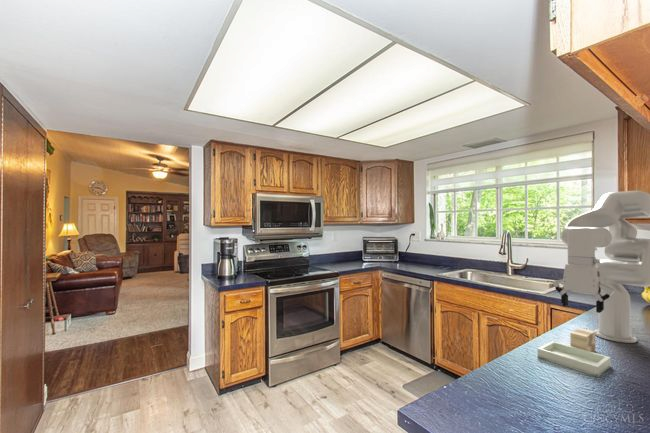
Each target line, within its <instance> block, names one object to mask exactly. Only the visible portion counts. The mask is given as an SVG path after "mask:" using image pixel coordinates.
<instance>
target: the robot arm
mask: <svg viewBox="0 0 650 433" xmlns="http://www.w3.org/2000/svg"><path fill="white" fill-rule="evenodd" d="M649 218H650V193H649V192H646V191H643V190H628V191H627V190H625V191H612V192H607V193H604V194H603V195H602V196H600V198H599V200H598V201H597V202H596V204H595V205H594V206H593V208H592V210H589V211H587V212H583V213H581V214H580V215H578V216H576V217H574V218H571V219H570V220H569V221H568V222H567V223H566V224H565V226H564V228H563V230H562V231H561V232H562V233H561V241H562V242H563V244H565V245H567V263H565V266H564V270H563V275H562V276H563V278H560V279H557V280H554V281H552V285H553V286H554V288H555V290H556V291H557V292H558V293H559V295H560V300H561V301H560V303H561V304H562V306H563V307H567V306H569V295H568V293H569V292H571V293H572V292H573V293H578V294H586V295H591V296H594V297H595V299H597V300H596V303H595V306H596V309H595V310H596V313H597V315H598V317H597V320H598V321H597V322H598V326H597V327H598V328H596V329H594V330H593V331H595V336H596V337H599V338H601V339H605V340H608V341H611V342H618V343H625V344H633V343H636V342H637V341H638V338H637V337H636V336H635V335H632V321H631V320H632V319H631V296H630V293H629V291H628V290H627V289H626V288H625V287H624V286H623V285H626V286H635V287H642V288H643V287H644V288H646V287H650V238H643V237H642V238H641V237H637V236H638V229H637V228H636V227H635V226H634V225H633V224H631V223H630V222H629V221H628V220H626V219H649ZM607 227H608V229H607ZM596 248H604V255H605V256H606V258H603V259H598V258H596V254H595V251H596V250H595V249H596ZM560 284H562V287H563V288H562V287H561V286H560Z"/></svg>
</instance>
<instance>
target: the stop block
mask: <svg viewBox="0 0 650 433" xmlns="http://www.w3.org/2000/svg"><path fill="white" fill-rule="evenodd" d="M569 335H570V346H572V347H576V348H579V349H583V350H586V351H590V352H594V353H596V352H597V351H596V346H597V345H596V335H595V331H594V330H590V329H585V328H581V327H579V328H577V329H575V330H572V331H571V332H570V334H569Z"/></svg>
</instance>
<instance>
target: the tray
mask: <svg viewBox="0 0 650 433" xmlns="http://www.w3.org/2000/svg"><path fill="white" fill-rule="evenodd" d="M536 351H537V358H539V359H542V360H545V361H548V362H551V363H554V364H558V365H560V366H563V367H566V368H570V369H571V370H575V371H577V372H582V373H585V374H587V375H590V376H594V377H597V378H599V377H600V376H602V375H603V374H604V373H605V372H606V371H608V369H610V368H611V366H612V364H611V363H612V360H611V358H612V357H610V356H607V355H604V354H600V353H597V352H590V351H586V350H583V349H579V348H576V347H572V346H571V345H567V344H565V343H561V342H556V341H554V340H551V341H549V342H548V343H545V344H543V345H542V346H540V347H538V348H537V350H536Z"/></svg>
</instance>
